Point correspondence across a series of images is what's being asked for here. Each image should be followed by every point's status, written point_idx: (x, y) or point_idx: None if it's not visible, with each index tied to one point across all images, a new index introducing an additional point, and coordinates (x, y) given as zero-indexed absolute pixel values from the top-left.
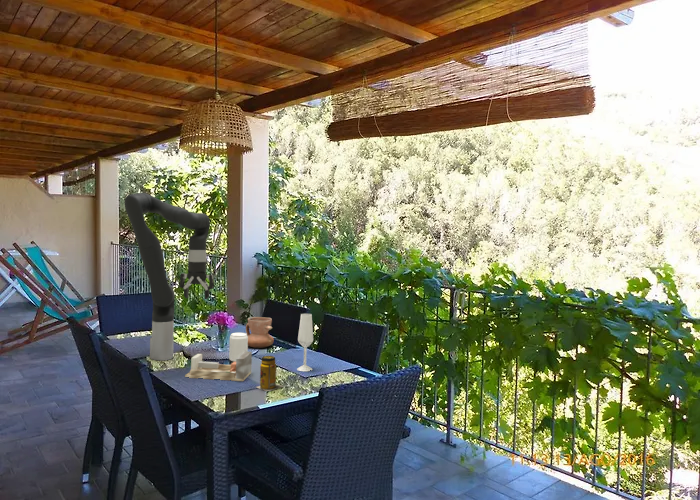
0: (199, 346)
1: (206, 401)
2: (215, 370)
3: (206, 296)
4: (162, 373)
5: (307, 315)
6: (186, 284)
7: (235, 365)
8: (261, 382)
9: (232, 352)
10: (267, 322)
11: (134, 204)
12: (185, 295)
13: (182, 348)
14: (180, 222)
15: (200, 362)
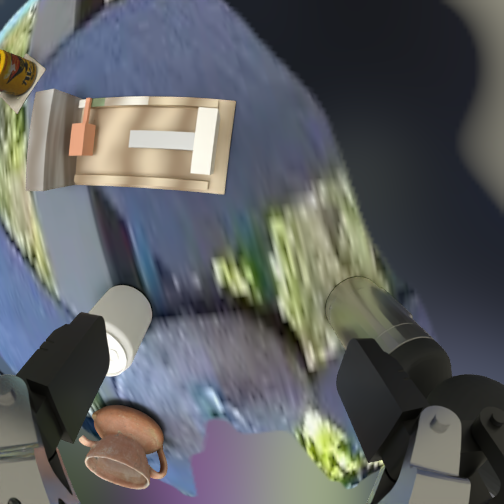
0: (275, 413)
1: None
2: (151, 163)
3: (70, 332)
4: (316, 142)
5: None
6: (449, 474)
7: (74, 124)
8: (27, 60)
9: (128, 300)
10: (88, 454)
11: None
12: (379, 351)
13: (315, 393)
14: None
15: (190, 136)
